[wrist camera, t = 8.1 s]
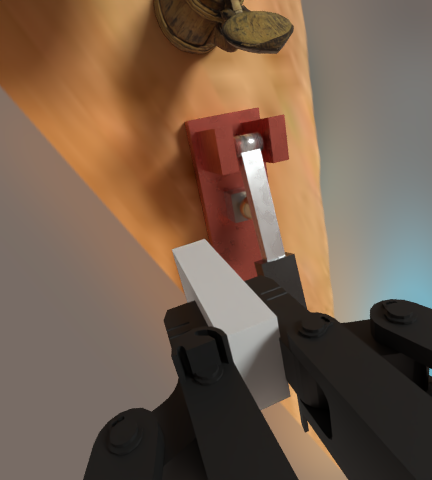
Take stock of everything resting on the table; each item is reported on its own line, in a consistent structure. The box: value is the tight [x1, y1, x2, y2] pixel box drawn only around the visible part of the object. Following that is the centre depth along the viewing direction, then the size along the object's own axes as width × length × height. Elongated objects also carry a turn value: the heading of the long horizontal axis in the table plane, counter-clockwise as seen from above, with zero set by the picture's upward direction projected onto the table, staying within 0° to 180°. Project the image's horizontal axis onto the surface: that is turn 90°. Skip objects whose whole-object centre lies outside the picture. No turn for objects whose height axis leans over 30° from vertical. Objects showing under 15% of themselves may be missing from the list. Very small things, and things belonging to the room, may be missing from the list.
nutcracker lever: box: [234, 132, 307, 309], centre depth 38 cm, size 23×4×2 cm, turn 11°
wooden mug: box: [154, 0, 294, 54], centre depth 31 cm, size 9×14×18 cm, turn 19°
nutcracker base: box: [185, 108, 289, 281], centre depth 42 cm, size 25×10×10 cm, turn 11°
